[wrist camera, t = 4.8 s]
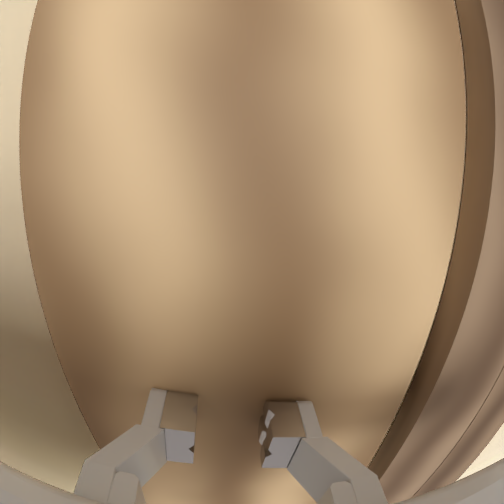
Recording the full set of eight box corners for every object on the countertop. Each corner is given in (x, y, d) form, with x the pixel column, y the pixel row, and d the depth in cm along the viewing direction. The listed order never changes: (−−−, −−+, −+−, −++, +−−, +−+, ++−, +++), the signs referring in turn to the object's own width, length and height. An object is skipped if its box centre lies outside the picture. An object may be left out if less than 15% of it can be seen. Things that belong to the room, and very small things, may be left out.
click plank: (157, 514, 15) (155, 530, 13) (76, -44, 5) (60, -63, 3) (325, 507, 16) (329, 523, 14) (422, -24, 6) (444, -38, 5)
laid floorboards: (344, 503, 16) (349, 518, 14) (453, -9, 6) (475, -20, 5) (448, 470, 17) (455, 481, 15) (568, 74, 7) (586, 74, 5)
